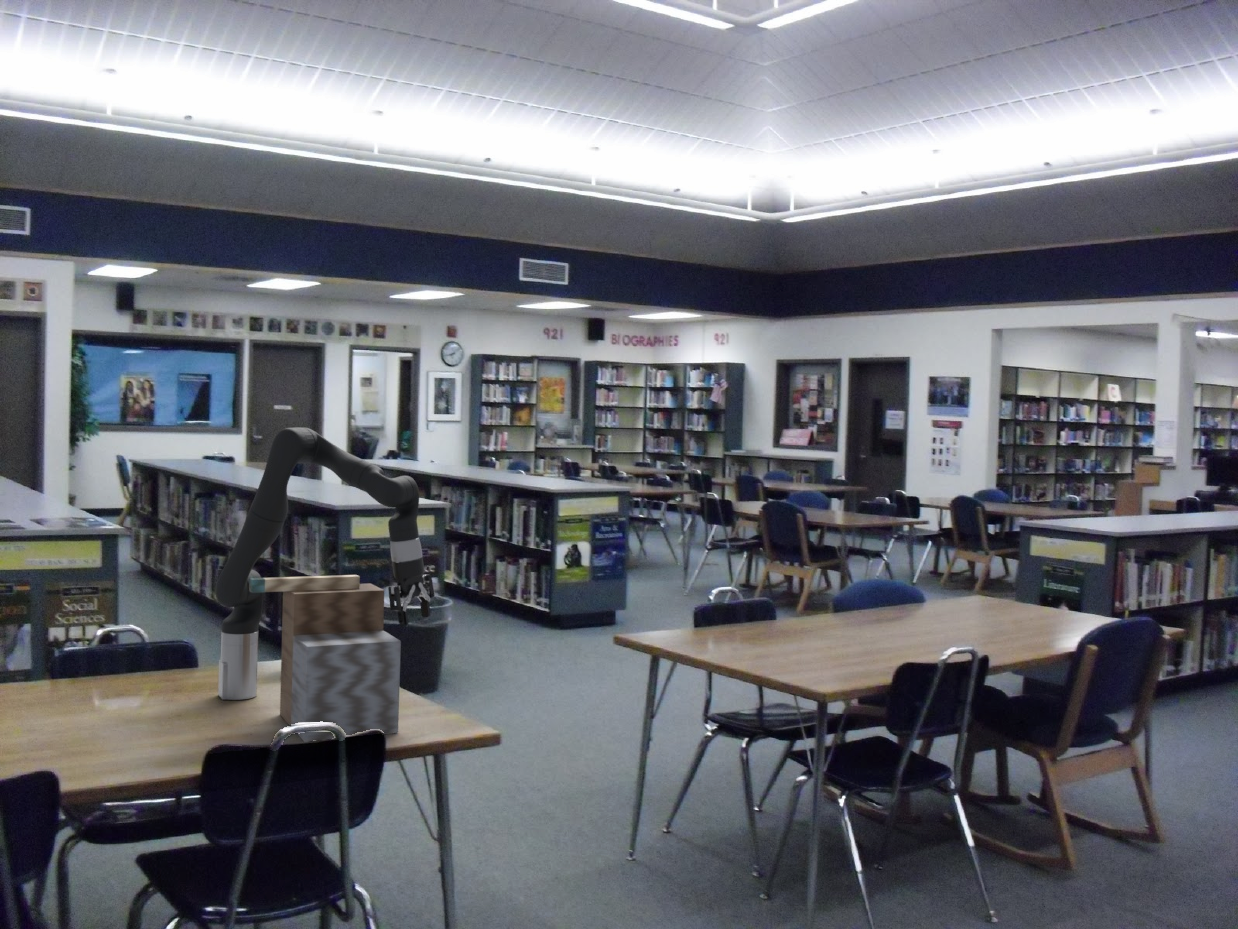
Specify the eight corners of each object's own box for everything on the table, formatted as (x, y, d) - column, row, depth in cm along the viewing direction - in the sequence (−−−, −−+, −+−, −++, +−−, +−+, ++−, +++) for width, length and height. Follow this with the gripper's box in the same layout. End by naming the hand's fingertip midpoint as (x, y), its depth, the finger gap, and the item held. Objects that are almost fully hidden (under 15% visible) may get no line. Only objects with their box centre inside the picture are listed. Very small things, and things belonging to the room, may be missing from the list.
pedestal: (304, 742, 262) (308, 603, 261) (279, 714, 285) (283, 586, 284) (398, 732, 273) (402, 599, 272) (366, 706, 296) (370, 583, 294)
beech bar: (251, 592, 273) (252, 579, 273) (249, 590, 276) (249, 578, 276) (359, 588, 285) (359, 576, 285) (356, 586, 288) (356, 574, 288)
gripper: (413, 551, 291) (421, 613, 292) (376, 563, 278) (384, 628, 280) (436, 551, 287) (445, 614, 289) (400, 563, 275) (408, 629, 276)
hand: (415, 621), depth 284 cm, fingers open, 8 cm apart
